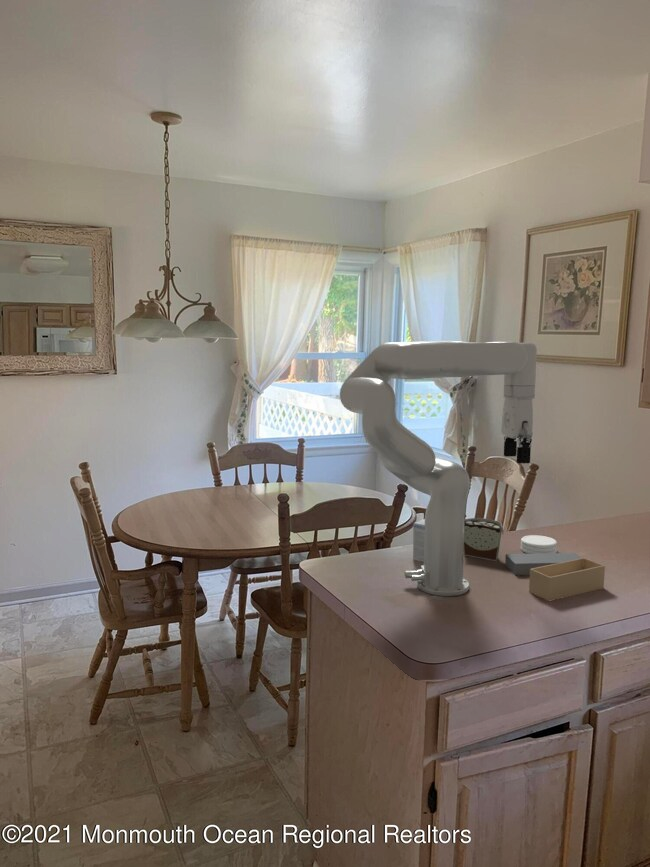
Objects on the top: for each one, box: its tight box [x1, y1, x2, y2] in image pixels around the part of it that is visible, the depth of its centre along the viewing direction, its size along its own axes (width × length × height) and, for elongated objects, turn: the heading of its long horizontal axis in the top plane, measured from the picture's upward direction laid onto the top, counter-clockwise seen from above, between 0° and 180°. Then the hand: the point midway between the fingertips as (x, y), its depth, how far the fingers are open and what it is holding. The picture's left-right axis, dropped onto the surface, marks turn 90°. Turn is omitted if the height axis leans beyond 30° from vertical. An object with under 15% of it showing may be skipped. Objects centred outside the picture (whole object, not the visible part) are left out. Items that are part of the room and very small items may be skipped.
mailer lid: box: [504, 552, 582, 576], centre depth 168 cm, size 19×8×3 cm, turn 93°
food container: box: [464, 517, 505, 562], centre depth 179 cm, size 12×6×10 cm, turn 58°
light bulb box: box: [412, 518, 425, 563], centre depth 177 cm, size 11×7×11 cm, turn 141°
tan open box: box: [528, 557, 606, 602], centre depth 154 cm, size 18×6×6 cm, turn 116°
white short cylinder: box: [520, 534, 558, 554], centre depth 183 cm, size 10×10×4 cm
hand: (516, 459), depth 161 cm, fingers open, 9 cm apart
